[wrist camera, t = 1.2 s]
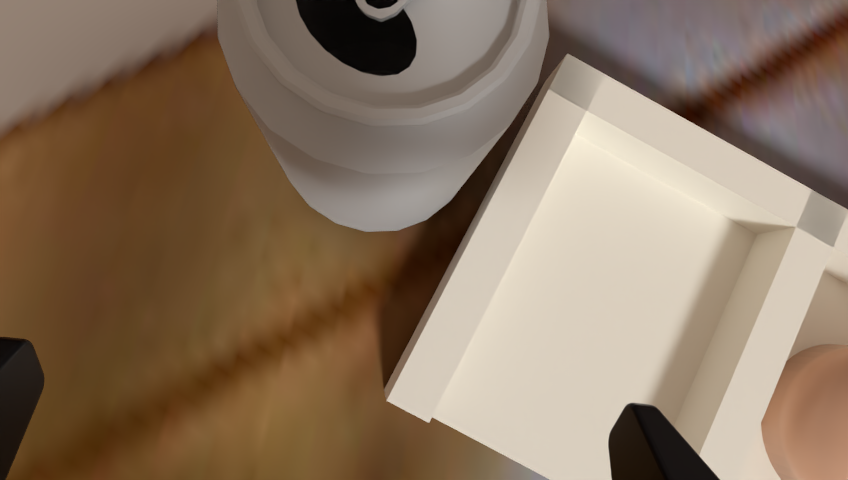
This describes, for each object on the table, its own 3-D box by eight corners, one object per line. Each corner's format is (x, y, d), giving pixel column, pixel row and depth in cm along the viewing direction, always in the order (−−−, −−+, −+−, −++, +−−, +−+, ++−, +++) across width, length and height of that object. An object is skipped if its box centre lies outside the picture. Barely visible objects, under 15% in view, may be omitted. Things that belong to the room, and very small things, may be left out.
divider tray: (895, 660, 23) (964, 706, 20) (383, 389, 22) (386, 400, 20) (1008, 338, 25) (1084, 341, 22) (544, 81, 24) (567, 53, 22)
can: (239, 144, 23) (107, -35, 11) (371, 14, 24) (378, -273, 12) (383, 275, 23) (403, 236, 11) (507, 138, 24) (648, -30, 12)
